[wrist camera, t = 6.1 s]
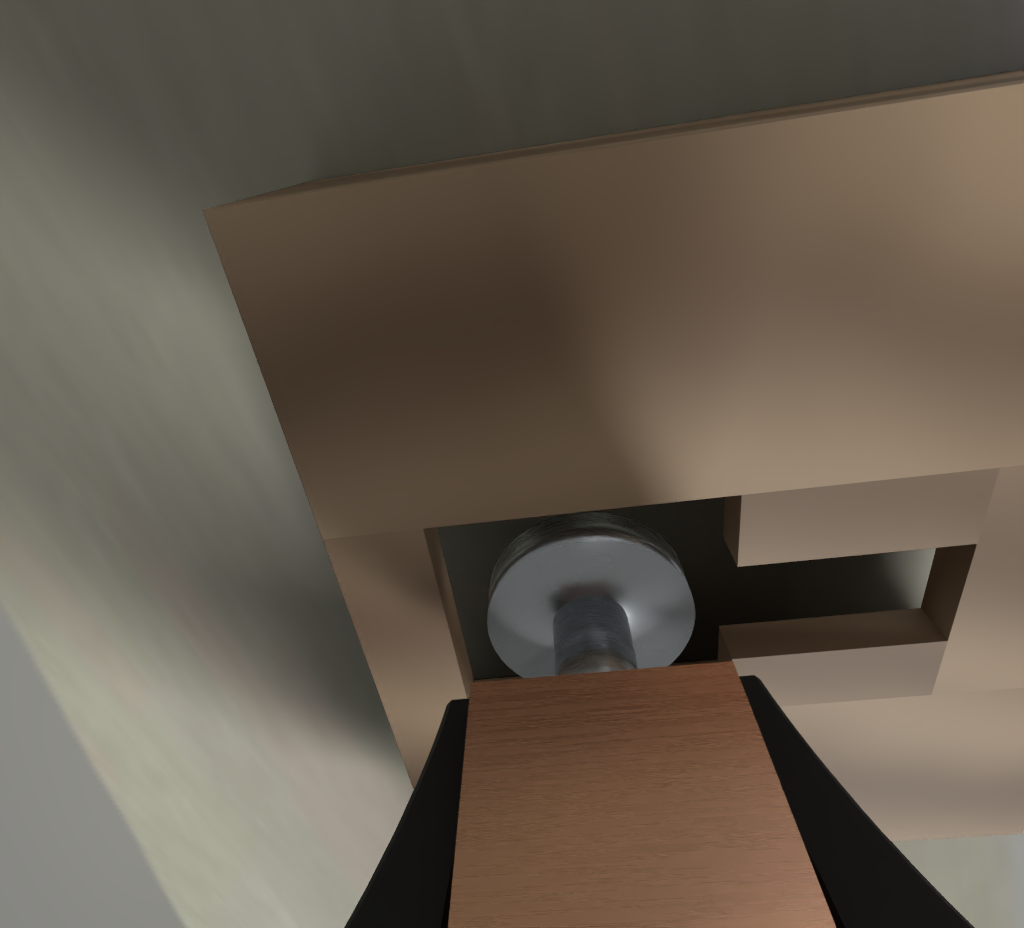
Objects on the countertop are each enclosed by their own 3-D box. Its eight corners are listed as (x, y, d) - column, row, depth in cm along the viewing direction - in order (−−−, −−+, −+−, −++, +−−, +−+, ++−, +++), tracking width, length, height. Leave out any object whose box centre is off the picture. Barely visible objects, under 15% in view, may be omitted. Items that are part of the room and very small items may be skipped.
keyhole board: (916, 683, 21) (1021, 833, 16) (458, 719, 22) (442, 867, 18) (1090, 59, 12) (1423, 21, 7) (308, 181, 13) (202, 210, 9)
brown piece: (683, 652, 15) (830, 1139, 8) (504, 667, 15) (487, 1145, 8) (684, 501, 12) (889, 988, 5) (474, 523, 13) (415, 1008, 6)
